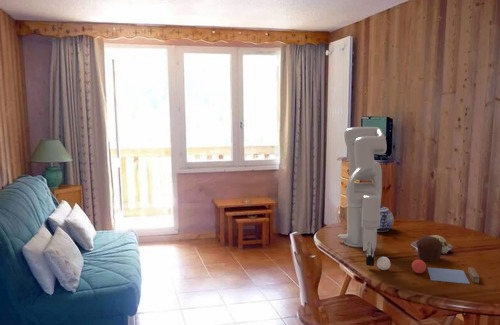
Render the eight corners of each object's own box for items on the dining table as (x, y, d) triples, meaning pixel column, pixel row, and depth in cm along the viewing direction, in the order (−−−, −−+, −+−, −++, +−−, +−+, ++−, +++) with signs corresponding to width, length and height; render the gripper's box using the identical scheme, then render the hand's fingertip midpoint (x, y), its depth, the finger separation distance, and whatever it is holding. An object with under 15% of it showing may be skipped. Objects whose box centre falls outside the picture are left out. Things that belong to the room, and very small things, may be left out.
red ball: (411, 274, 171) (412, 261, 171) (411, 269, 177) (411, 257, 176) (426, 276, 170) (427, 262, 169) (425, 271, 175) (425, 258, 174)
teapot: (362, 223, 251) (362, 199, 249) (388, 223, 249) (389, 199, 247) (368, 235, 226) (369, 208, 224) (398, 236, 224) (398, 209, 222)
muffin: (441, 264, 182) (441, 242, 181) (414, 260, 188) (414, 238, 187) (443, 256, 193) (444, 235, 192) (417, 252, 198) (418, 232, 197)
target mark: (430, 280, 165) (430, 279, 165) (427, 267, 179) (427, 267, 179) (469, 284, 161) (470, 283, 161) (463, 270, 174) (463, 270, 174)
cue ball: (376, 271, 176) (376, 258, 175) (376, 266, 181) (376, 254, 180) (390, 272, 174) (390, 259, 173) (390, 267, 179) (390, 255, 179)
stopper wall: (473, 282, 163) (473, 276, 162) (468, 273, 172) (468, 267, 172) (478, 283, 162) (479, 276, 162) (473, 273, 171) (473, 267, 171)
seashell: (453, 252, 195) (444, 234, 194) (433, 260, 197) (424, 242, 196) (446, 244, 205) (437, 227, 204) (428, 252, 207) (419, 235, 206)
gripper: (363, 218, 185) (362, 258, 187) (360, 227, 171) (359, 270, 173) (380, 219, 182) (379, 260, 184) (379, 228, 168) (378, 272, 170)
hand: (370, 264), depth 179 cm, fingers closed
